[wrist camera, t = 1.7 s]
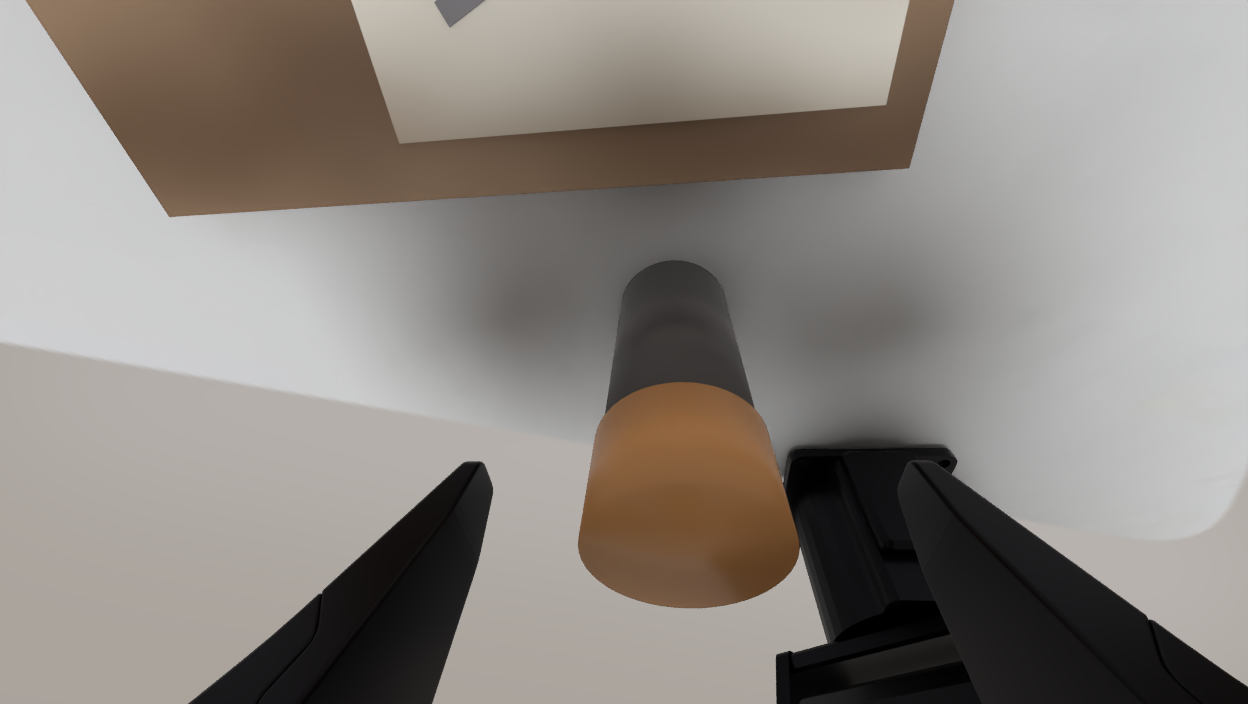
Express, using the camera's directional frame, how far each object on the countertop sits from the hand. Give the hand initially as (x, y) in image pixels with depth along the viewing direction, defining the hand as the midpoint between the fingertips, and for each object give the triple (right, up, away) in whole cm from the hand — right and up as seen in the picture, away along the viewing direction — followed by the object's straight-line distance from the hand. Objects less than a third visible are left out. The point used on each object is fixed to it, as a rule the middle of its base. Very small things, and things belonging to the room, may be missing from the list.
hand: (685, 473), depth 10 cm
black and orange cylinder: (0, +4, +6) cm, 7 cm away
